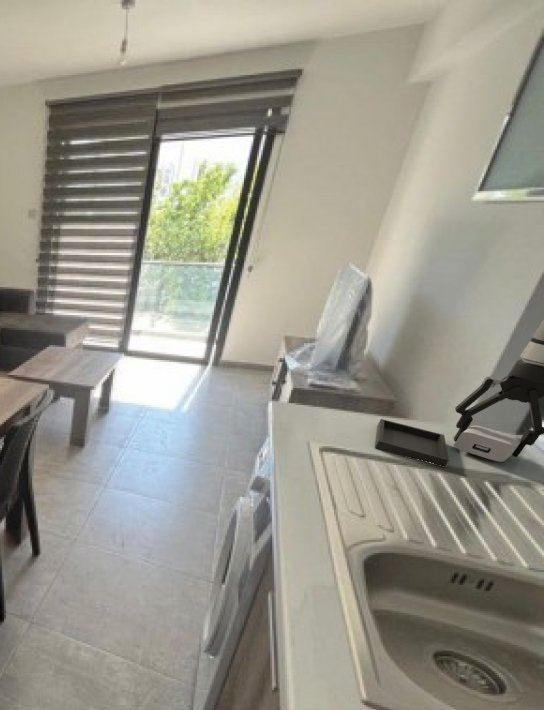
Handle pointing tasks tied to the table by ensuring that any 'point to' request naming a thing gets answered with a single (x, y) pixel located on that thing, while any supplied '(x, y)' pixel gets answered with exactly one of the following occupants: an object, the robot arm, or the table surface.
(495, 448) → the charger
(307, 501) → the table surface
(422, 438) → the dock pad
